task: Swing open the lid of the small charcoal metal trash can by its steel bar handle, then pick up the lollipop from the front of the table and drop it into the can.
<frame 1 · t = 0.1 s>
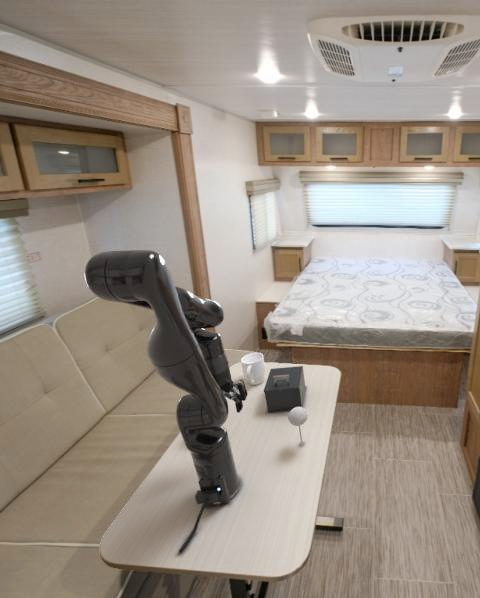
hand: (224, 412, 104), 17 cm above the table, tool pointing down, fingers open, 8 cm apart
bin lid: (283, 374, 131), point 12 cm above the table, hinge at 0.0°
lollipop: (302, 445, 115), on the table
mug: (255, 383, 146), on the table
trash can: (287, 399, 136), on the table
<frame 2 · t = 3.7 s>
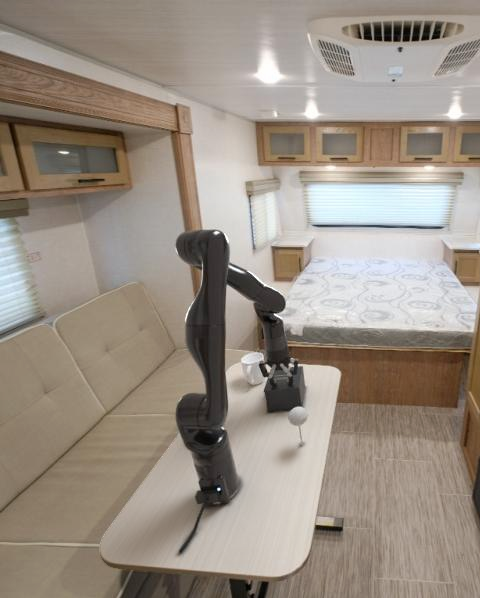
hand: (282, 384, 127), 11 cm above the table, tool pointing down, fingers closed on bin lid, 5 cm apart
bin lid: (283, 374, 131), point 12 cm above the table, hinge at 0.0°, touching gripper
everything else where it was.
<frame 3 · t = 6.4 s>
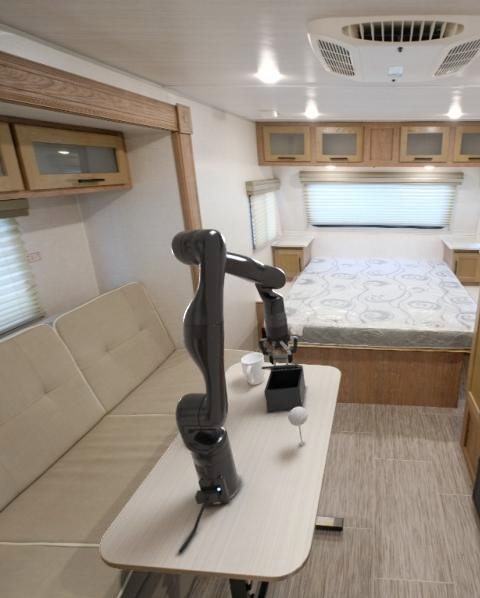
hand: (281, 362, 129), 18 cm above the table, tool pointing down, fingers closed on bin lid, 5 cm apart
bin lid: (283, 361, 132), point 16 cm above the table, hinge at 35.9°, touching gripper
everything else where it was.
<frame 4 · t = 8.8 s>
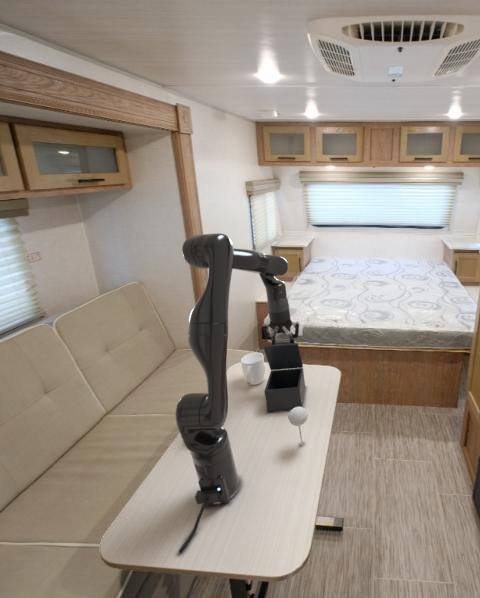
hand: (284, 347, 135), 20 cm above the table, tool pointing down, fingers closed on bin lid, 5 cm apart
bin lid: (284, 352, 135), point 18 cm above the table, hinge at 70.4°, touching gripper
everything else where it was.
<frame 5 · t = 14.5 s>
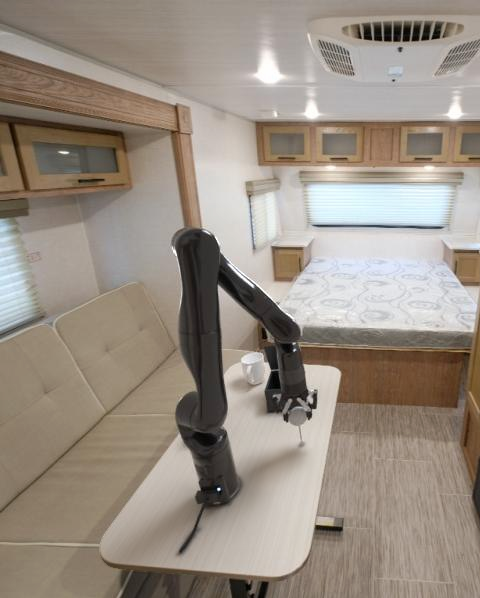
hand: (298, 419, 111), 11 cm above the table, tool pointing down, fingers closed on lollipop, 6 cm apart
bin lid: (284, 352, 135), point 18 cm above the table, hinge at 71.2°
lollipop: (302, 445, 115), on the table, touching gripper
everything else where it was.
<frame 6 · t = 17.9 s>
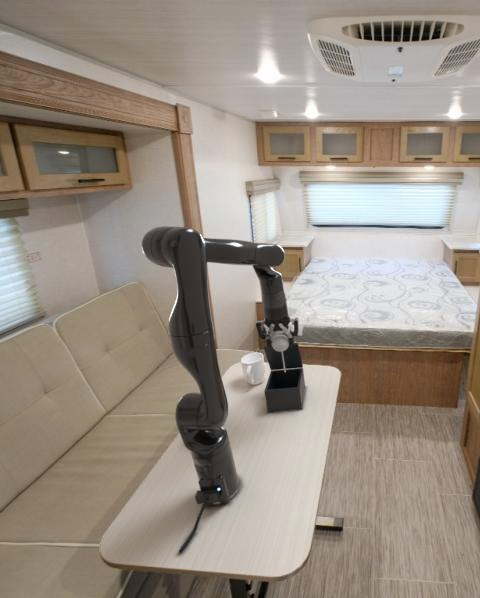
hand: (281, 346, 120), 28 cm above the table, tool pointing down, fingers closed on lollipop, 6 cm apart
lollipop: (285, 372, 124), point 17 cm above the table, touching gripper
everything else where it was.
when the fingers open (18 cm above the table, at t = 21.4 s): lollipop drops 6 cm, resting on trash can.
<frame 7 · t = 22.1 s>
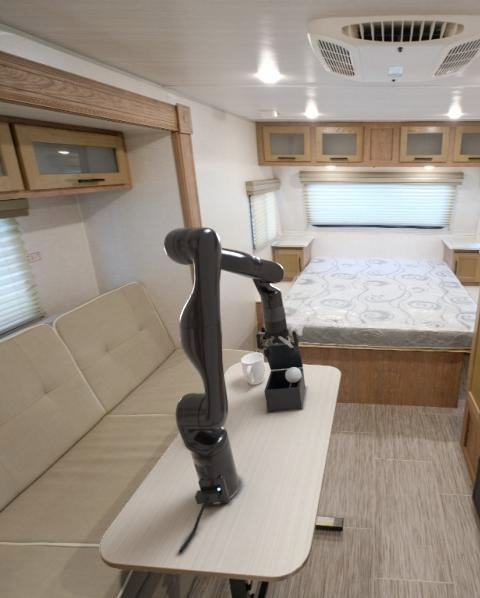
hand: (280, 356, 127), 21 cm above the table, tool pointing down, fingers open, 8 cm apart
lollipop: (285, 400, 134), point 1 cm above the table, touching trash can
everything else where it was.
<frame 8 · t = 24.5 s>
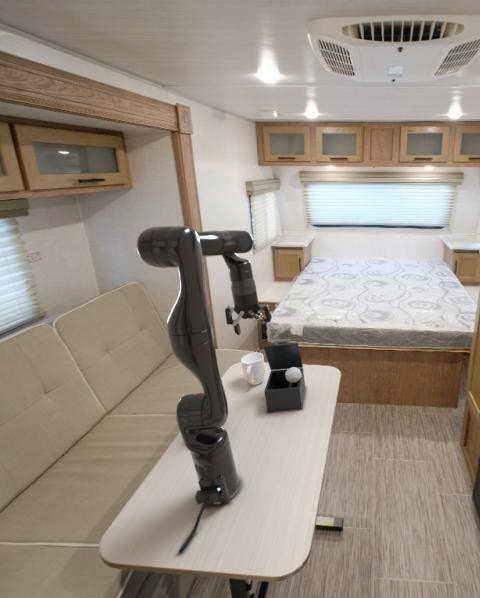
hand: (251, 333, 120), 32 cm above the table, tool pointing down, fingers open, 8 cm apart
nothing on the table moved.
at the end: bin lid at +71° (first picture: +0°); lollipop inside the target area in the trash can (1.6 cm from its centre), point 0.7 cm above the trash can's base; the gripper is holding nothing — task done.
